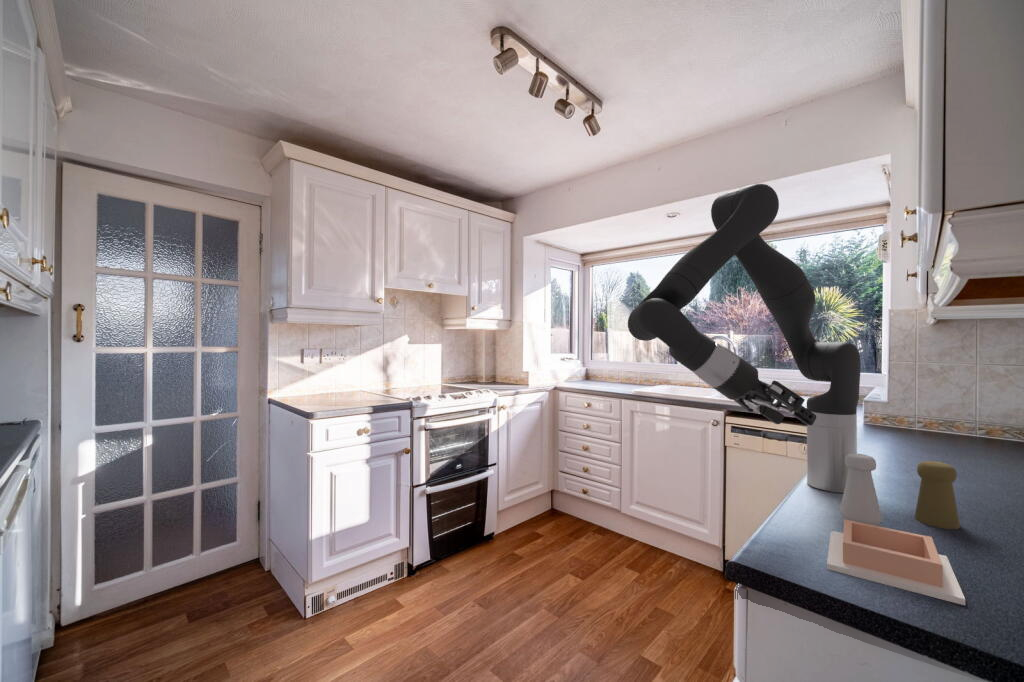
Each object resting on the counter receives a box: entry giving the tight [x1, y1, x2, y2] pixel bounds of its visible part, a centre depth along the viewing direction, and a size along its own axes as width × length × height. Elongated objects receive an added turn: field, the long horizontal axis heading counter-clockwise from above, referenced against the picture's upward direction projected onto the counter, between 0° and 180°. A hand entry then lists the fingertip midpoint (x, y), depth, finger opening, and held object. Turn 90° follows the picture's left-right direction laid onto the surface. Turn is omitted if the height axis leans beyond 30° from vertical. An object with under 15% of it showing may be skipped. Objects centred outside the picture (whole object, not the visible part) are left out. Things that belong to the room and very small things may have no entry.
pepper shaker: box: [914, 460, 961, 530], centre depth 79 cm, size 6×6×11 cm
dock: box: [826, 519, 966, 606], centre depth 64 cm, size 14×14×4 cm
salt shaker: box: [839, 453, 883, 526], centre depth 76 cm, size 6×6×13 cm
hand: (796, 420), depth 80 cm, fingers open, 8 cm apart
